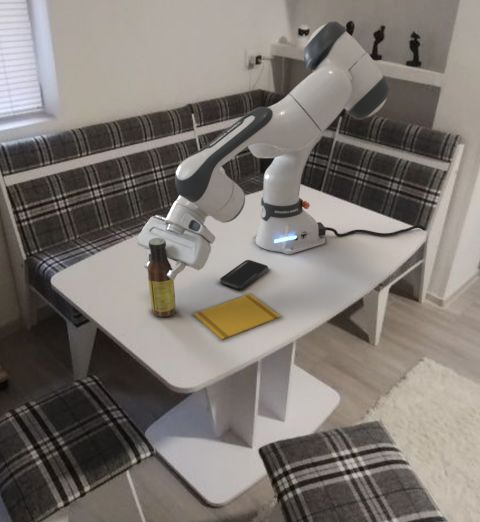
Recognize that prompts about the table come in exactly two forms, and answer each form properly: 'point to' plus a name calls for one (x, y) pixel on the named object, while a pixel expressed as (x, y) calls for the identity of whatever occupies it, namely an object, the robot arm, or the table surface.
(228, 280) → the phone
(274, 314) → the tray
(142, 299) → the table surface
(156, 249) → the sauce bottle
